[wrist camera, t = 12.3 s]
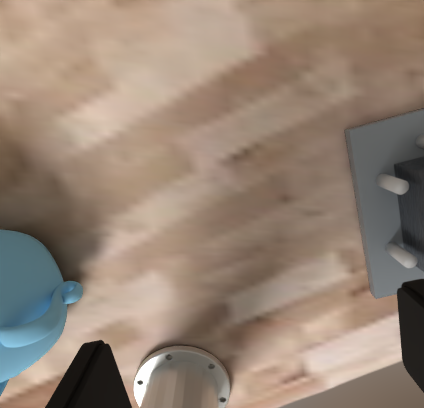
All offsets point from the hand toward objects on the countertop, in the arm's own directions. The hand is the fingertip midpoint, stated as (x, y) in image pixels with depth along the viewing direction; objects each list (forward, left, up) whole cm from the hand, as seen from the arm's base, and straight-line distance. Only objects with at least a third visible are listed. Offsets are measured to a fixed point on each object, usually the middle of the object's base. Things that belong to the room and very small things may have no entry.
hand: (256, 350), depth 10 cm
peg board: (-8, -20, -25) cm, 33 cm away
